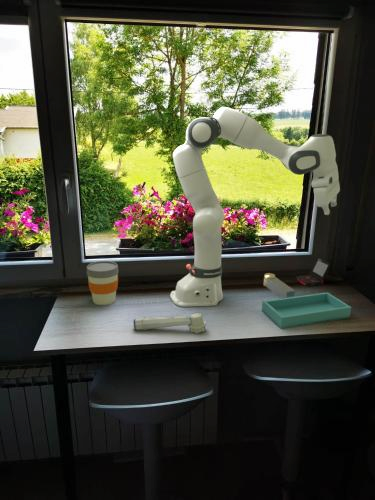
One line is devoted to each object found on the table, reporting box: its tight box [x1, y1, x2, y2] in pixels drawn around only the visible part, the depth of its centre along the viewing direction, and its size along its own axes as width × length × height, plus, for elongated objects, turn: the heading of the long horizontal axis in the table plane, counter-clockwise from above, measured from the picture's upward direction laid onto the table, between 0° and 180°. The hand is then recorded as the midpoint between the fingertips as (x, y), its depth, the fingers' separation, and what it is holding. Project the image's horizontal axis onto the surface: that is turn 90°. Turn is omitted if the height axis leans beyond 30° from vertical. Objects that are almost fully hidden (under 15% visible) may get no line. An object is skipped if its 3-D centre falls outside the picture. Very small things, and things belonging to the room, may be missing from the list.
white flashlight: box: [133, 313, 207, 334], centre depth 129 cm, size 5×7×25 cm
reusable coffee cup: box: [86, 260, 120, 306], centre depth 149 cm, size 13×13×15 cm
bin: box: [261, 291, 352, 330], centre depth 141 cm, size 30×14×4 cm, turn 108°
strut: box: [263, 272, 296, 299], centre depth 161 cm, size 20×5×5 cm, turn 18°
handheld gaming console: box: [295, 258, 331, 287], centre depth 172 cm, size 9×12×10 cm
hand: (330, 210), depth 146 cm, fingers open, 8 cm apart
